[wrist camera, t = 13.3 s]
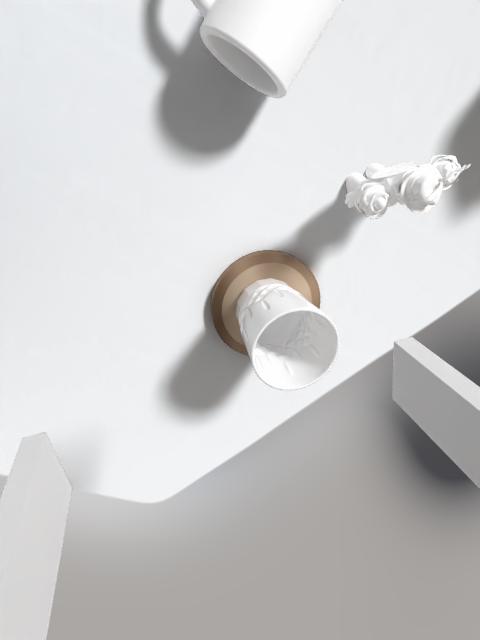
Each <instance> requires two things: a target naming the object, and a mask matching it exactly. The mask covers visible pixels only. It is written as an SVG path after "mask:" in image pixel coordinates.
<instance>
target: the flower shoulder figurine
mask: <svg viewBox="0 0 480 640" xmlns="http://www.w3.org/2000/svg"><path fill="white" fill-rule="evenodd" d="M438 156H446V157H443V158H440V159H438V160H436V161H434V162H433V164H431V161H432V160H433V159H434V158H435V157H438ZM415 165H416V163H415V162H407V163H401V164H397V165H394V166H391V167H388V168H384V167H383V166H382V165H380V164H378V163H373V164H371V165H369V166H368V167H367V169H366V176H367V178H368V179H366V178H365V177H364V176H362V175H361V174H359V173H352V174H350V175H349V176H348V177H347V178H346V189H347V193H348V194H347V195H346V196H345V199H346V200H345V204H348V208H352V207H354V206H356V208H357V210H358V211H359V212H360V213H362V212H361V211H360V209H359V208H358V205H360V206H361V207H362V210H363V212H365V213H366V214H367V215H366V217H368V216H370V215H375V214H378V213H380V212H381V213H380V214H379V215H378V216H376V217H372V218H370V219H377V218H379V217H381V216H382V215H383V214H384V213H385V211H386V210H387V207H390V206H393V205H395V204H396V203H397V202H399V203H400V204H402V205H403V204H405V205H406V206H407V207H408V208H409V209H410V210H411V211H412V212H414V213H417V214H421V213H425V212H427V211H429V210H430V209H431V208H432V207H433V206H435V205H436V203H437V202H438V200H439V198H440V196H441V194H442V191H445V190H447V189H449V188H450V187H451V186H452V185H450V186H448V187H446V188H443V187H444V186H446V185H448V184H450V183H452V182H454V181H455V180H456V179H457V177H458V176H459V174H460V173H461V172H462V171H463V170H465V168H466V169H468V167H469V166H470V165H471V164H469V165H467V166H465V165H463V167H462V168H461V166H460V164H458V163H457V159H456V156H452V155H449V156H447V155H435V156H433V157H431V159H430V164H423V165H417V167H416V168H413V167H414V166H415ZM458 180H459V179H458ZM458 180H457V181H458ZM457 181H456V182H457Z"/></svg>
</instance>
